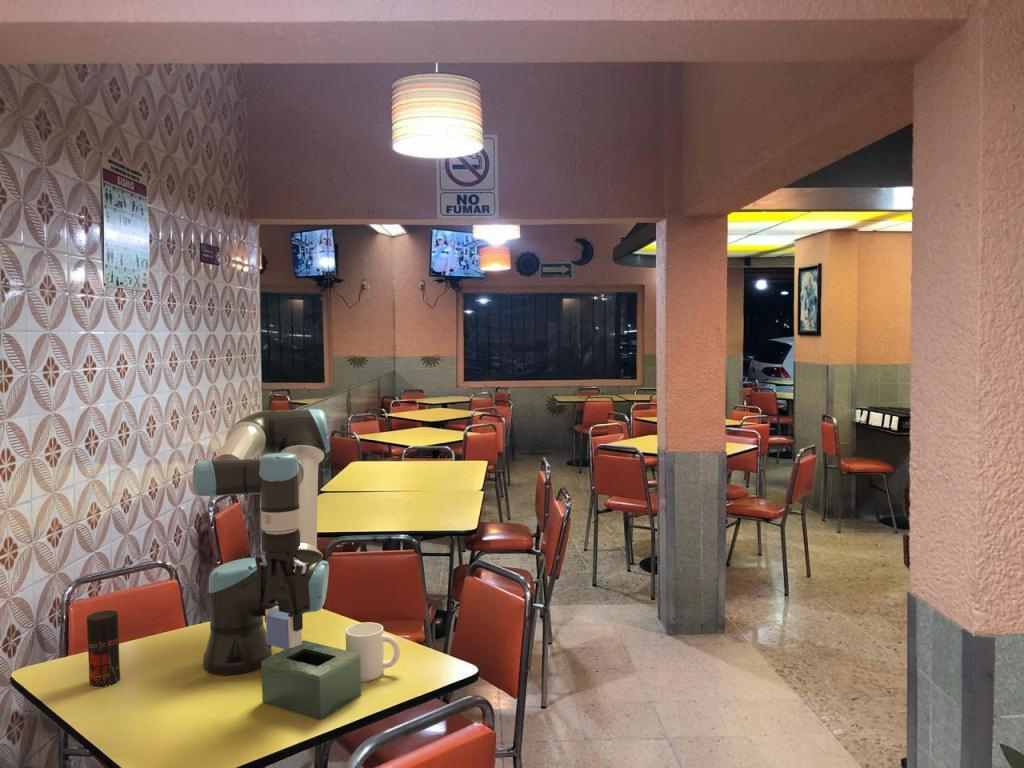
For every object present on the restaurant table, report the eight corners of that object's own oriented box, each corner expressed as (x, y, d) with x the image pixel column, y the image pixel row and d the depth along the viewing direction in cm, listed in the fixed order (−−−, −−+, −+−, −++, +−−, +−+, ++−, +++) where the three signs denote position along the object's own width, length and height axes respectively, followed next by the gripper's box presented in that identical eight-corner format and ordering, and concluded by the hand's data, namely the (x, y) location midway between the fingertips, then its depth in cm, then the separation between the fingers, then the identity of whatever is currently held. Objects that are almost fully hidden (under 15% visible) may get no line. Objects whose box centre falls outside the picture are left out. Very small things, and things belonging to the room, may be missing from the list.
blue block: (266, 644, 150) (266, 615, 150) (278, 639, 152) (278, 610, 152) (286, 649, 147) (286, 620, 147) (298, 645, 149) (297, 615, 149)
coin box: (262, 702, 152) (261, 660, 151) (304, 679, 162) (303, 640, 162) (320, 720, 144) (319, 676, 144) (361, 694, 155) (360, 653, 154)
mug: (404, 666, 168) (403, 622, 168) (396, 683, 160) (394, 636, 159) (352, 666, 169) (351, 622, 168) (341, 682, 161) (340, 636, 160)
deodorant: (85, 682, 162) (82, 615, 162) (114, 673, 167) (112, 608, 166) (94, 690, 158) (92, 622, 158) (124, 681, 163) (121, 614, 162)
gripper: (235, 528, 151) (238, 639, 152) (298, 539, 141) (301, 658, 142) (265, 521, 157) (268, 628, 158) (327, 531, 147) (330, 645, 148)
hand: (284, 642), depth 150 cm, fingers closed on blue block, 6 cm apart
